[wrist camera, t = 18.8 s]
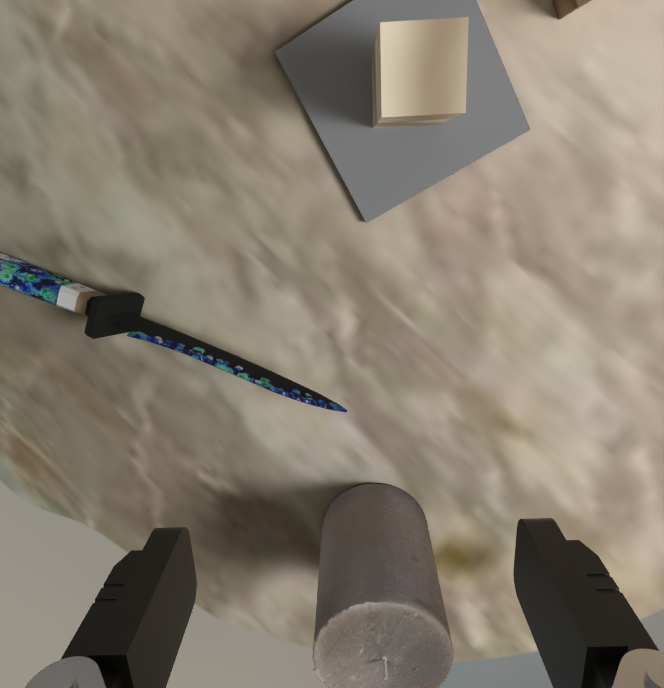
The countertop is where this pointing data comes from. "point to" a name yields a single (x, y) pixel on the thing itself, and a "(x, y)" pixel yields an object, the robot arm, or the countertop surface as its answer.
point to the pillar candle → (379, 595)
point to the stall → (567, 6)
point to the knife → (141, 326)
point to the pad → (357, 102)
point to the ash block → (419, 72)
